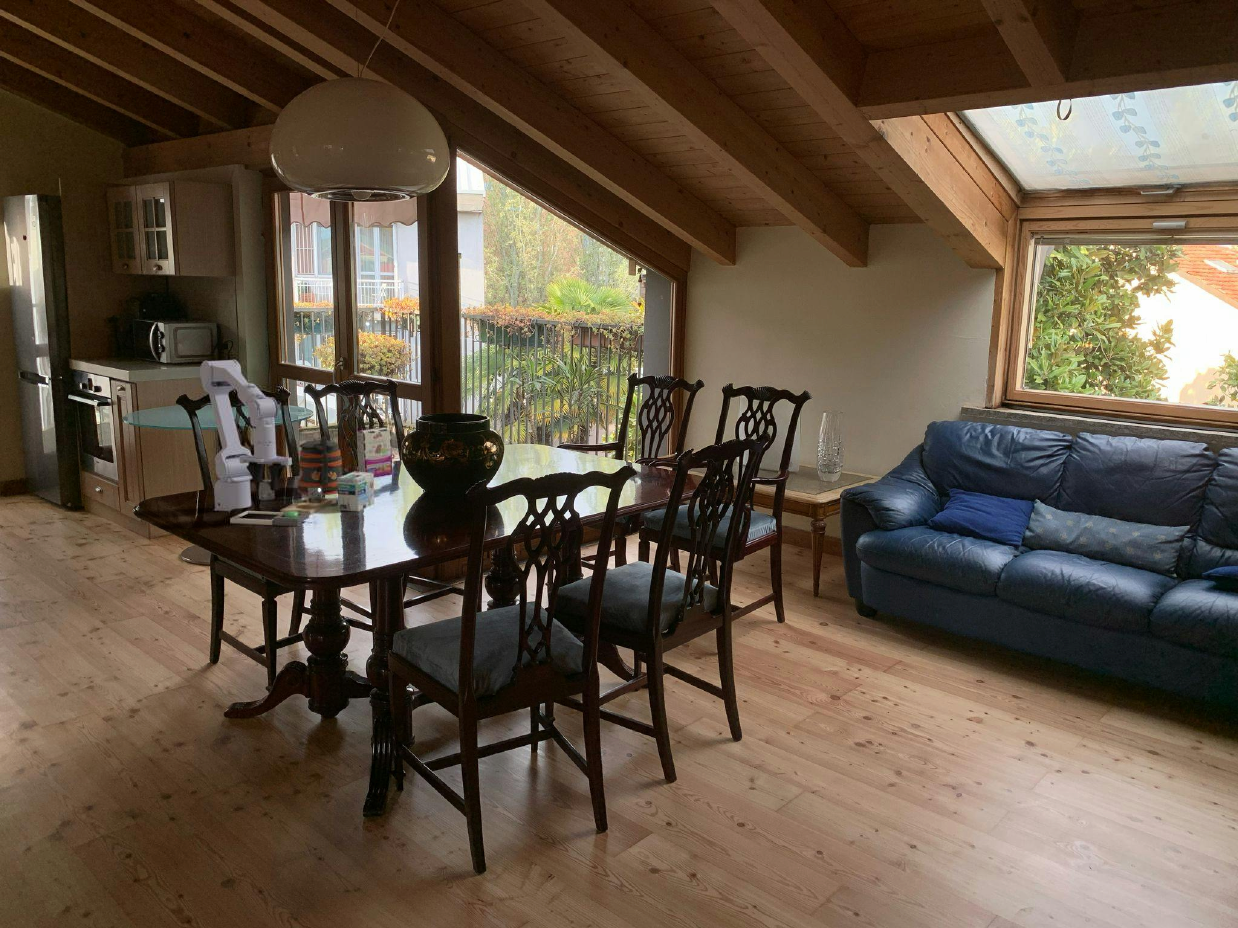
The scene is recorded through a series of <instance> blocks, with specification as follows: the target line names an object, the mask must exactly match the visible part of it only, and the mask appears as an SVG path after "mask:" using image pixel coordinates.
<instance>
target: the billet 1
mask: <svg viewBox="0 0 1238 928" xmlns="http://www.w3.org/2000/svg"><path fill="white" fill-rule="evenodd" d="M258 496H259V497H258V498H259V500H261V501H272V500H274V499H276V498H275V490H272V488H271V479H262V480H260V481H259V490H258Z"/></svg>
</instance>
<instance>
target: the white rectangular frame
mask: <svg viewBox="0 0 1238 928" xmlns="http://www.w3.org/2000/svg"><path fill="white" fill-rule="evenodd" d="M248 514H254V515H256V514H257V515H276V516H278V515H280V514H282V513H281V511H279V512H278V511H277V512H276V511H257V510H246V511H244V512H241V513H240V514H237V515H235V516H232V517H231V518H229V519H230V520H229V521H230V524H242V525H243V524H244V525H262V526H263V525H266V526H274V521H273V518H272V519H269V518H268V519H266V518H264V519H263V518H250V517H249V518H248V517H243V516H246V515H248Z"/></svg>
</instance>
